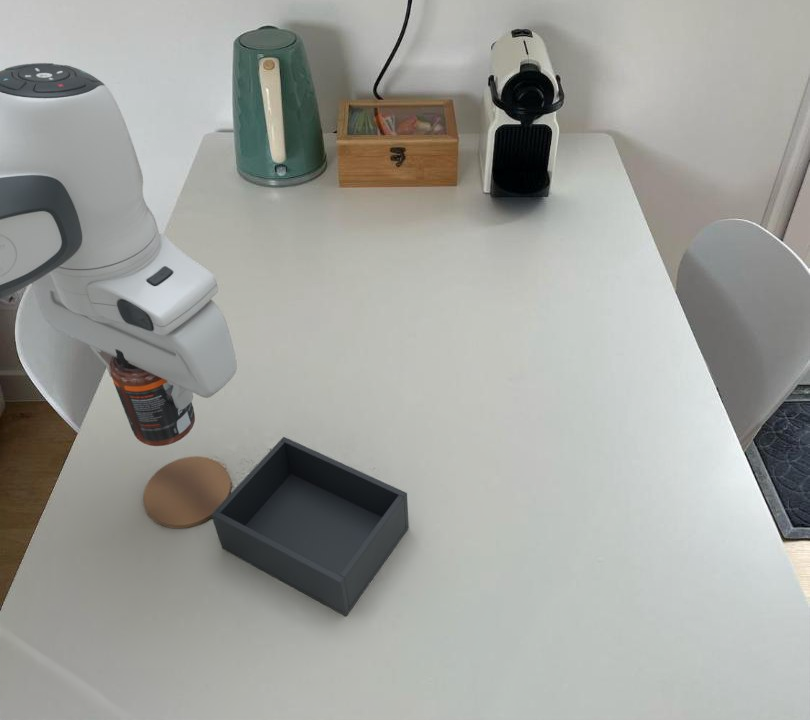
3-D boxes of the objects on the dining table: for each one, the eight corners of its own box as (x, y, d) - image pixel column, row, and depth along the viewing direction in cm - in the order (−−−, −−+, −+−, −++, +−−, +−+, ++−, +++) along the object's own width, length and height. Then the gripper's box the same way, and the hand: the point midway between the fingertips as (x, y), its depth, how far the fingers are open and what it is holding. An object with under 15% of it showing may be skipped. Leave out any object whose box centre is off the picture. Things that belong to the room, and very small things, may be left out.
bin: (346, 616, 74) (340, 583, 70) (221, 549, 79) (210, 514, 76) (409, 527, 81) (407, 492, 77) (290, 471, 86) (283, 436, 83)
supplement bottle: (206, 431, 77) (180, 341, 69) (147, 459, 75) (113, 370, 67) (182, 395, 81) (154, 306, 73) (124, 420, 78) (90, 332, 71)
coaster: (191, 542, 80) (190, 538, 80) (126, 506, 84) (124, 502, 83) (249, 480, 86) (248, 476, 85) (185, 448, 89) (184, 444, 89)
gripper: (-8, 251, 67) (48, 372, 77) (176, 328, 59) (213, 452, 68) (52, 214, 71) (98, 333, 80) (232, 281, 63) (260, 405, 72)
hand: (152, 389), depth 74 cm, fingers closed on supplement bottle, 6 cm apart
